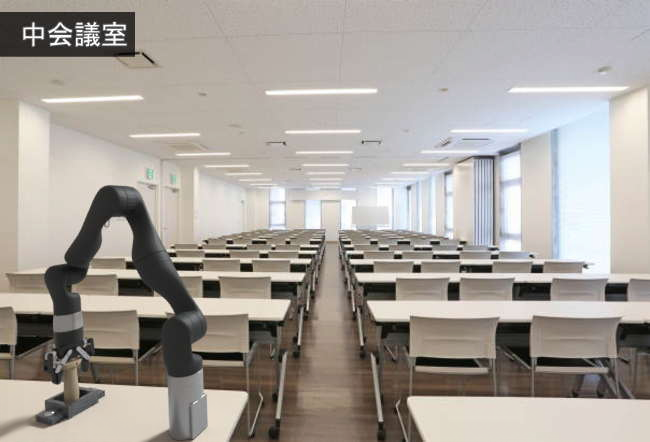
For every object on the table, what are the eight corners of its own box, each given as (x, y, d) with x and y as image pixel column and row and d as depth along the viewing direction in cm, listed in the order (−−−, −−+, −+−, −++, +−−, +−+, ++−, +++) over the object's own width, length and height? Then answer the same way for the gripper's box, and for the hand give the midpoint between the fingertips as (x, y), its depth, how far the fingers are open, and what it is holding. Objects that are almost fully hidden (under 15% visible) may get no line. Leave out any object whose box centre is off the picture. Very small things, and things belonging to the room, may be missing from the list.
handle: (87, 402, 112) (84, 356, 111) (70, 414, 106) (67, 365, 105) (73, 401, 113) (71, 356, 112) (56, 413, 106) (53, 365, 106)
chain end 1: (95, 404, 111) (94, 392, 111) (56, 426, 100) (55, 413, 99) (72, 399, 114) (71, 387, 114) (32, 420, 103) (31, 407, 103)
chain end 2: (108, 396, 115) (108, 384, 115) (72, 417, 104) (72, 404, 104) (86, 391, 119) (85, 380, 119) (49, 411, 108) (48, 398, 107)
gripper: (52, 335, 100) (55, 390, 101) (98, 320, 114) (101, 368, 114) (35, 333, 103) (38, 387, 103) (82, 318, 116) (85, 366, 117)
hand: (71, 377), depth 109 cm, fingers open, 8 cm apart
